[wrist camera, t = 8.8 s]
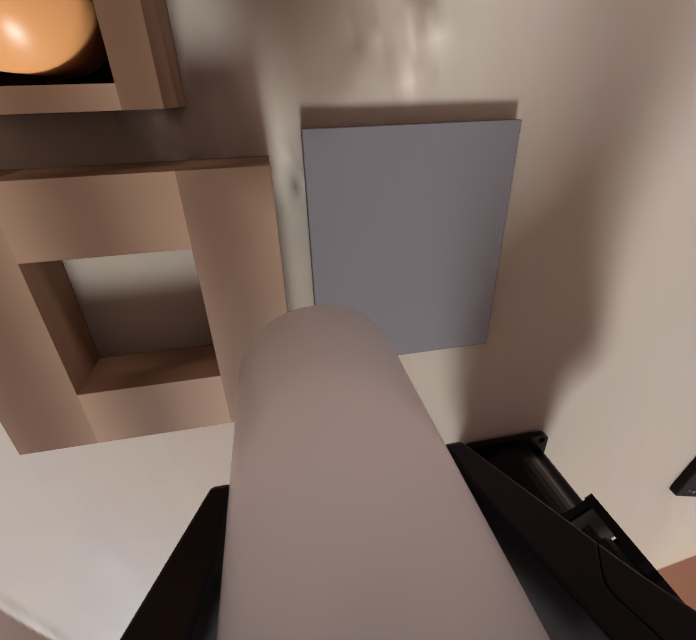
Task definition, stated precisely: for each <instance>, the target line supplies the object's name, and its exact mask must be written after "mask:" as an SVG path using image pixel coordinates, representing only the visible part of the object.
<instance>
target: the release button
mask: <svg viewBox="0 0 696 640" xmlns="http://www.w3.org/2000/svg"><path fill="white" fill-rule="evenodd" d="M107 58H108V56H107V52H106V49H105V45H104V41H103V37H102V34H101V30H100V26H99V22H98V19H97V15H96V11H95V7H94V3H93V0H0V71H2V72H11V73H21V74H30V75H40V76H49V77H58V78H77V77H81V76H85V75H87V74H90V73H92V72H93V71H95V70H96V69H98V68H99V67H100V66H101V65H102V64H103V63H104V62H105V61H106V59H107Z"/></svg>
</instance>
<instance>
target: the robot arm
mask: <svg viewBox="0 0 696 640" xmlns="http://www.w3.org/2000/svg"><path fill="white" fill-rule="evenodd" d="M547 440H548V437H547V435H546V434H545V433H544V432H543V431H539V432H533V433H527V434H522V435H516V436H510V437H505V438H499V439H493V440H488V441H482V442H476V443H471V444H467V445H465V444H463V443H461V442H456V443H450V444H446V447H447V449H448V451H449V452H450V454H451V456H452V458H453V460H454V462H455V464H456V465H457V467H458V469H459V471H460V473H461V475H462V477H463V478H464V480H465V482H466V484H467V486H468V488H469V490H470V491H471V493H472V495H473V497H474V499H475V501H476V503H477V504H478V506H479V508H480V510H481V512H482V514H483V516H484V517H485V519H486V521H487V523H488V525H489V527H490V529H491V530H492V532H493V534H494V536H495V538H496V540H497V542H498V543H499V545H500V547H501V549H502V551H503V553H504V555H505V556H506V558H507V560H508V562H509V564H510V566H511V568H512V570H513V571H514V573H515V575H516V577H517V579H518V581H519V583H520V584H521V586H522V588H523V590H524V592H525V594H526V596H527V597H528V599H529V601H530V603H531V605H532V607H533V609H534V610H535V612H536V614H537V616H538V618H539V620H540V622H541V623H542V625H543V627H544V629H545V631H546V633H547V635H548V636H549V638H550V640H696V611H695V610H694V609H692V608H691V607H689V606H688V605H686V604H685V603H684V602H683V601H682V600H681V599H680V597H679V596H678V595H677V594H676V593H675V592H674V590H673V589H672V588H671V587H670V586H669V584H668V583H667V582H666V581H665V580H664V578H663V577H662V576H661V575H660V574H659V573H658V571H657V570H656V569H655V568H654V567H653V565H652V564H651V563H650V562H649V561H648V560H647V558H646V557H645V556H644V555H643V554H642V552H641V551H640V550H639V549H638V548H637V547H636V545H635V544H634V543H633V542H632V541H631V539H630V538H629V537H628V536H627V535H626V534H625V532H624V531H623V530H622V529H621V528H620V526H619V525H618V524H617V523H616V522H615V521H614V519H613V518H612V517H611V516H610V515H609V513H608V512H607V511H606V510H605V509H604V508H603V506H602V505H601V504H600V503H599V502H598V500H597V499H596V498H595V497H594V496H593V495H592V493H591V494H590V495H588V496H587V497H585V500H584V501H582V500H581V498H580V497H579V496H578V495H577V493H576V492H575V491H574V490H573V488H572V487H571V486H570V485H569V483H568V482H567V481H566V480H565V479H564V477H563V476H562V475H561V474H560V472H559V471H558V470H557V469H556V467H555V466H554V465H553V464H552V462H551V461H550V460H549V459H548V457H547V456H546V455H545V454H544V451H545V447H546V444H547ZM228 497H229V485H222V486H217V487H213V488H212V489H211V490H210V491H209V493H208V494H207V496H206V498H205V499H204V501H203V503H202V504H201V506H200V508H199V509H198V511H197V513H196V514H195V516H194V518H193V519H192V521H191V522H190V524H189V526H188V527H187V529H186V531H185V532H184V534H183V536H182V537H181V539H180V541H179V542H178V544H177V546H176V547H175V549H174V551H173V552H172V554H171V556H170V557H169V559H168V561H167V562H166V564H165V566H164V567H163V569H162V571H161V572H160V574H159V576H158V577H157V579H156V581H155V582H154V584H153V586H152V587H151V589H150V591H149V592H148V594H147V596H146V597H145V599H144V601H143V602H142V604H141V606H140V607H139V609H138V611H137V612H136V614H135V616H134V617H133V619H132V620H131V622H130V624H129V625H128V627H127V629H126V630H125V632H124V634H123V635H122V637H121V639H120V640H216V636H217V625H218V613H219V602H220V590H221V578H222V567H223V555H224V544H225V532H226V520H227V509H228ZM614 536H615V537H616V539H615V540H612V539H611V538H612V537H614Z"/></svg>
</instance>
